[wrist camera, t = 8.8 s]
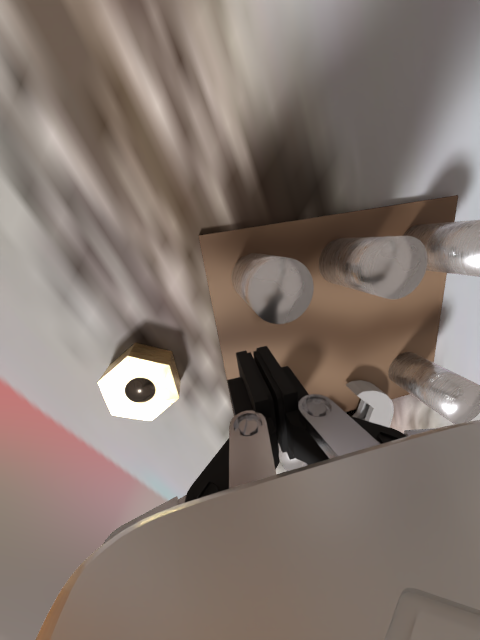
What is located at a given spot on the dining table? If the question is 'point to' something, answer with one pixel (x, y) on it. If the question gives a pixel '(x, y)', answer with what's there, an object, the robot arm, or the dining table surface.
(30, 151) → the dining table surface
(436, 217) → the board
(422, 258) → the spacers
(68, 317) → the dining table surface
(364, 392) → the adjustable wrench
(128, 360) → the nut
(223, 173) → the dining table surface
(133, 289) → the dining table surface
